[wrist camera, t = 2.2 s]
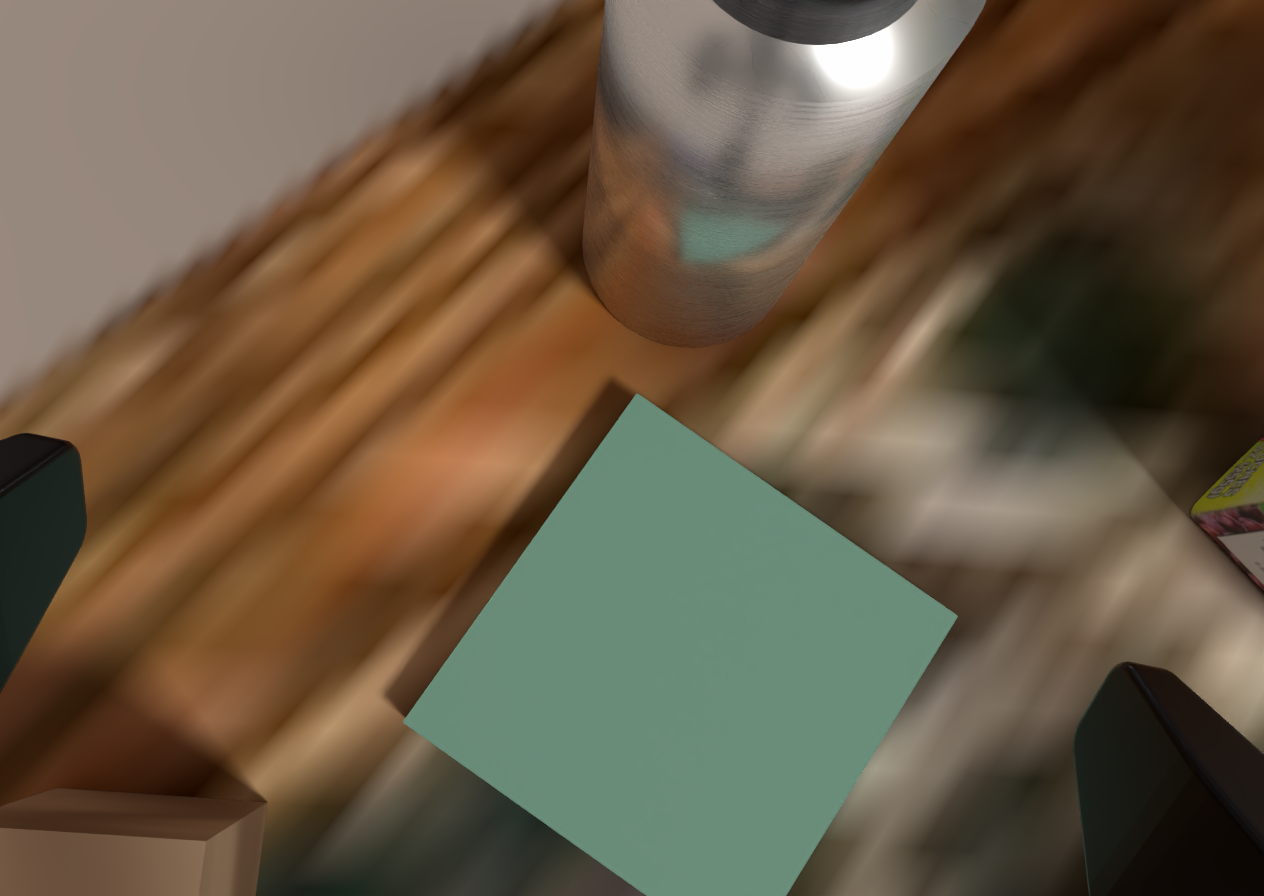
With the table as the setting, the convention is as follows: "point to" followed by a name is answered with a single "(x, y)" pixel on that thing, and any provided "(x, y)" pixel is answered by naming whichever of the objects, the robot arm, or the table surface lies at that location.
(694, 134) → the bottle
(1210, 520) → the snack box
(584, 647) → the mat
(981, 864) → the table surface
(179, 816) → the walnut block
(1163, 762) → the robot arm
